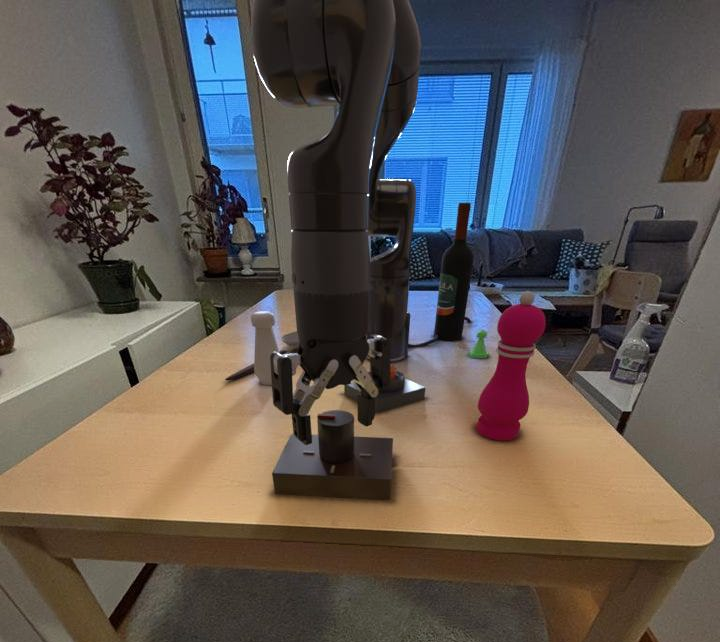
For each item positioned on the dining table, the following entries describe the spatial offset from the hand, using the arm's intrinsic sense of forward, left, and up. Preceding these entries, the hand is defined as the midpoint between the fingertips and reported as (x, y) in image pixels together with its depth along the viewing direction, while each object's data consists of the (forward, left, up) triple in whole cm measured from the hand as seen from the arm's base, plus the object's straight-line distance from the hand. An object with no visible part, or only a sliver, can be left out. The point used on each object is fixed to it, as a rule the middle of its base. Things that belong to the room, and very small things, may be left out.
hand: (336, 432), depth 48 cm
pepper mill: (-27, +4, -6) cm, 28 cm away
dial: (0, 0, -3) cm, 3 cm away
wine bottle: (-61, -40, -6) cm, 73 cm away
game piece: (-55, -24, -6) cm, 60 cm away
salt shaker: (-7, -36, -6) cm, 37 cm away
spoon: (-14, -48, -6) cm, 51 cm away
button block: (-21, -17, -6) cm, 28 cm away
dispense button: (-21, -17, -2) cm, 27 cm away
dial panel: (0, 0, -6) cm, 6 cm away
